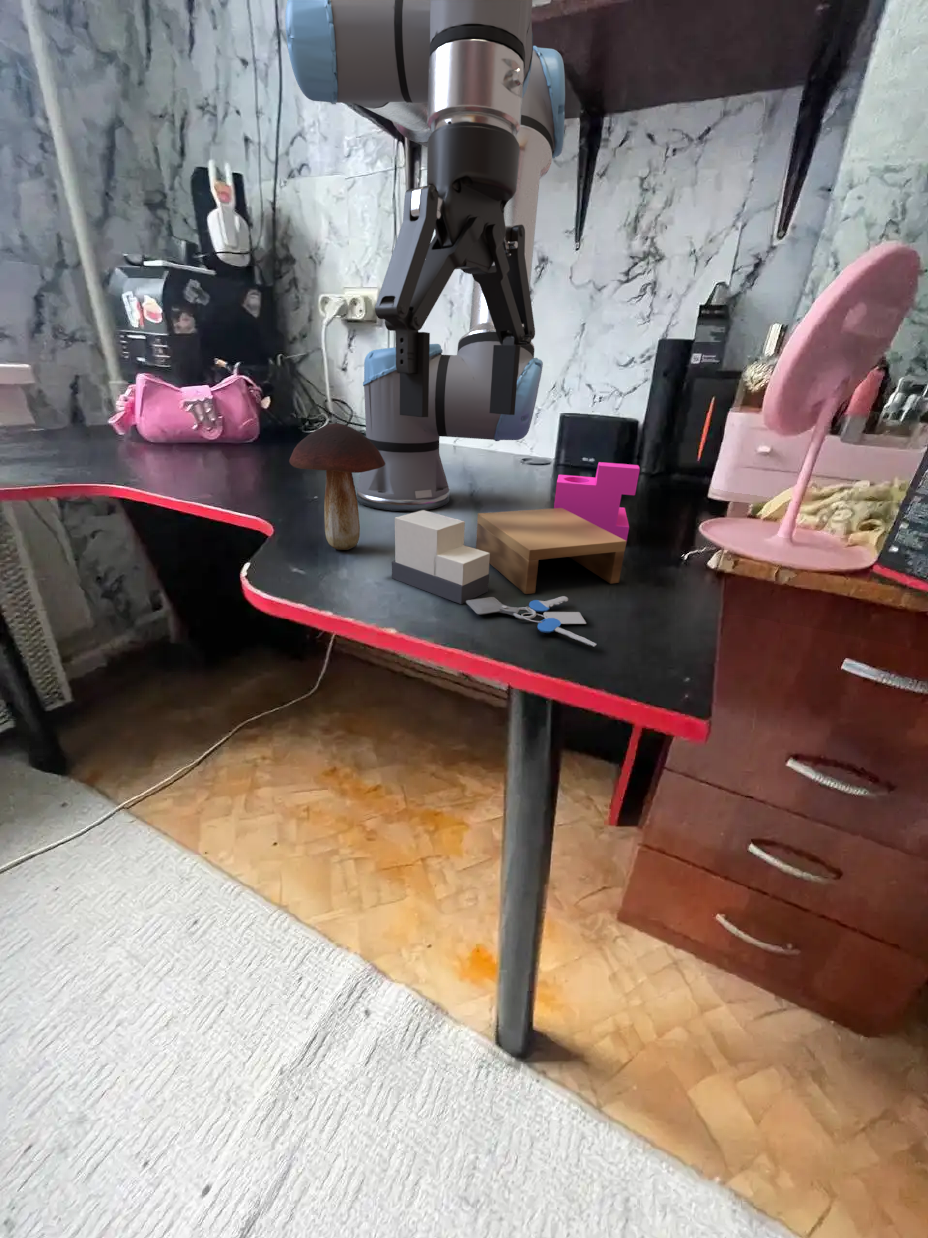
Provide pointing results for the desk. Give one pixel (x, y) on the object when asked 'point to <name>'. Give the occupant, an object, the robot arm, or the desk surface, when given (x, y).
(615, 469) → the bracket
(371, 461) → the decorative mushroom
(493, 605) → the key chain
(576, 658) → the desk surface
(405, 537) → the stepped grey-based block
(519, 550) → the oak shelf
